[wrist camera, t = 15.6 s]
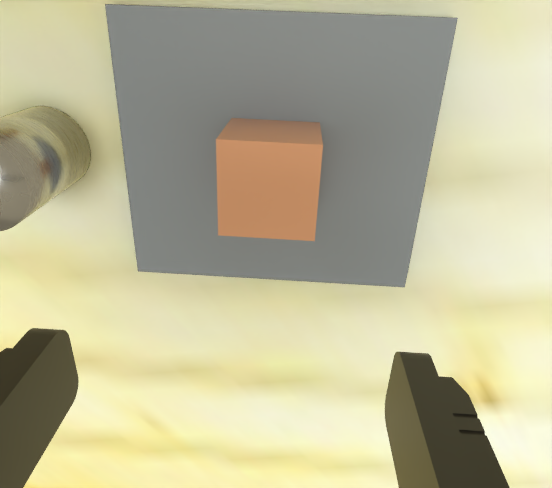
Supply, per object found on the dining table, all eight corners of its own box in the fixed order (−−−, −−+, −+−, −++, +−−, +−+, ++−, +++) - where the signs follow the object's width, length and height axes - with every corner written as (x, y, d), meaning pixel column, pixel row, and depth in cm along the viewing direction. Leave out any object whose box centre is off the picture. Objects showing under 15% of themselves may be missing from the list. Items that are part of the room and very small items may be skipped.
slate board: (142, 263, 31) (137, 271, 30) (112, 4, 24) (105, 4, 23) (401, 279, 30) (404, 287, 30) (451, 18, 23) (457, 18, 22)
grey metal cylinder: (20, 183, 29) (-58, 228, 23) (1, 104, 27) (-91, 130, 20) (96, 187, 29) (38, 234, 23) (83, 108, 26) (15, 135, 20)
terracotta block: (232, 200, 28) (218, 235, 23) (231, 117, 25) (216, 139, 21) (312, 204, 27) (314, 241, 23) (319, 122, 25) (323, 144, 21)
